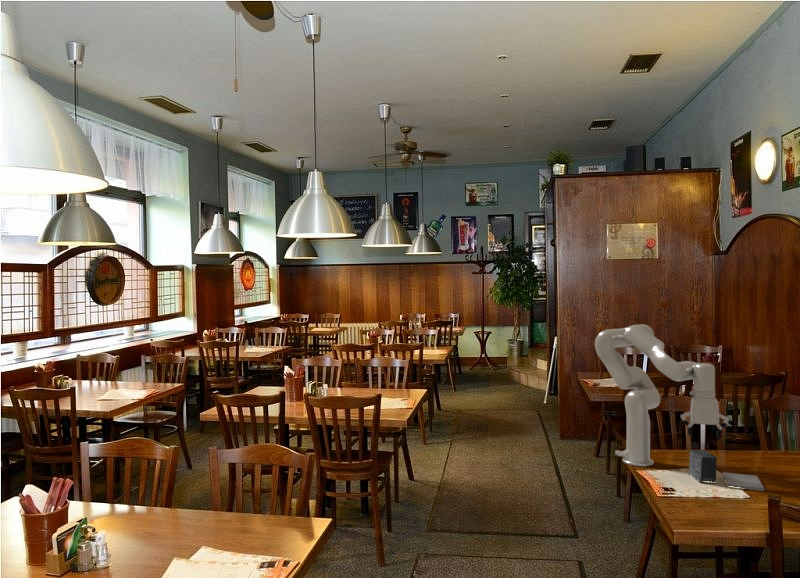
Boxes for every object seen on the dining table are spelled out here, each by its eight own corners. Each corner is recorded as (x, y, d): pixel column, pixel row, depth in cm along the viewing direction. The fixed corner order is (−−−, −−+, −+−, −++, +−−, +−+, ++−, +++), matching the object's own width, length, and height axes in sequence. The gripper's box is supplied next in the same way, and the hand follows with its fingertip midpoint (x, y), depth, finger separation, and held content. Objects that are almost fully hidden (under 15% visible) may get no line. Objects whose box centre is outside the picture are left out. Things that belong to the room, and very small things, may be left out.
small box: (717, 483, 237) (718, 457, 237) (700, 483, 237) (701, 456, 237) (704, 475, 248) (704, 449, 248) (688, 474, 248) (688, 449, 248)
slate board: (727, 487, 233) (728, 483, 233) (722, 475, 247) (722, 472, 247) (764, 491, 228) (764, 487, 228) (756, 479, 242) (756, 475, 242)
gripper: (680, 395, 241) (681, 438, 241) (730, 397, 235) (730, 442, 235) (679, 392, 248) (679, 434, 248) (727, 394, 242) (727, 437, 242)
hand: (704, 438), depth 242 cm, fingers open, 9 cm apart
